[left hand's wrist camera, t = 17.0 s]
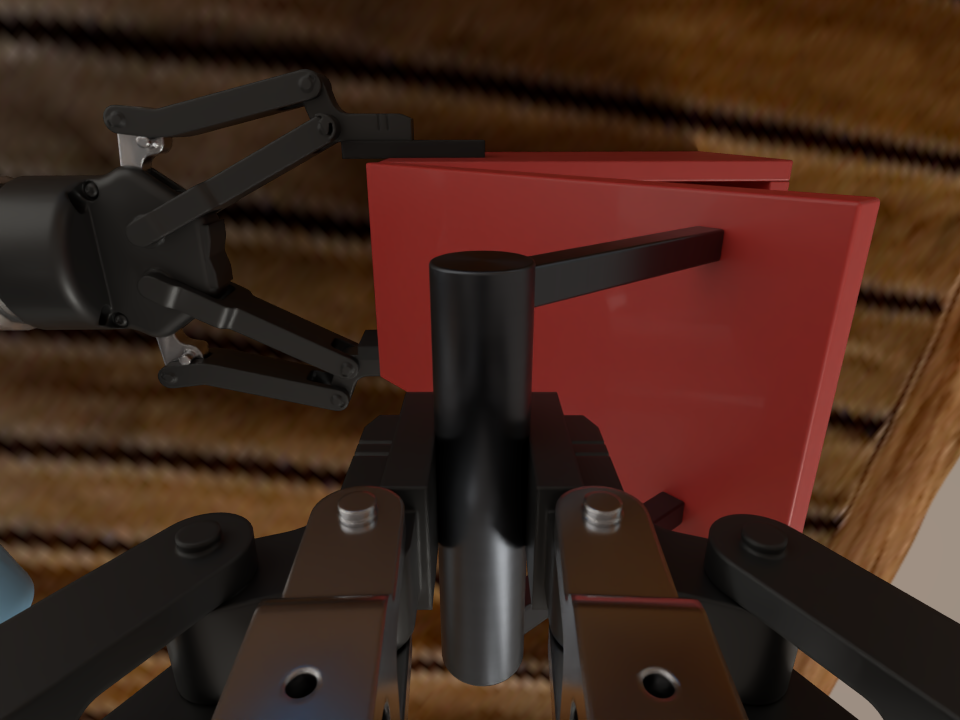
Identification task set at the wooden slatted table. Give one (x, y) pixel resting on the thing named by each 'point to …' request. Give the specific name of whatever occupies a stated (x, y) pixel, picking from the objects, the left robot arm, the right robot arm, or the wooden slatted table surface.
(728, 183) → the chest
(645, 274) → the lid
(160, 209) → the right robot arm
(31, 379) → the wooden slatted table surface
